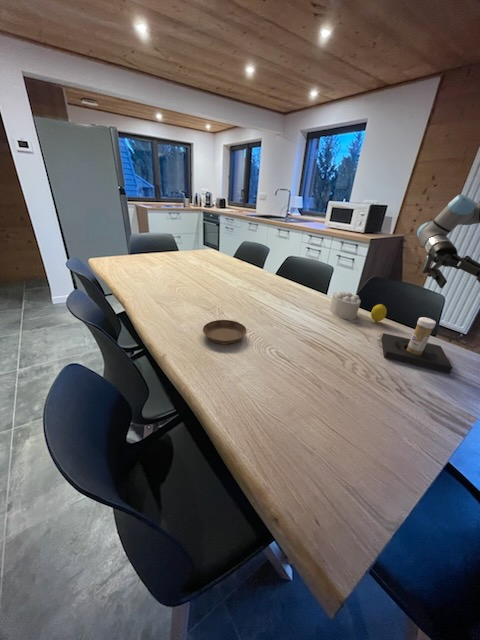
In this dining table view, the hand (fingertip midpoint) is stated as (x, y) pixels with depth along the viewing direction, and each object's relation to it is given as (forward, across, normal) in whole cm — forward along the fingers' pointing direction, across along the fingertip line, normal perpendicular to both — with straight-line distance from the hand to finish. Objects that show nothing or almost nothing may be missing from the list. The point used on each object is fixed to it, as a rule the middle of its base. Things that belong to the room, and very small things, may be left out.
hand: (466, 286), depth 82 cm
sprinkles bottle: (+15, +12, -19) cm, 27 cm away
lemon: (-9, +16, -28) cm, 34 cm away
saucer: (+17, +75, -16) cm, 78 cm away
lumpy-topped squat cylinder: (-14, +28, -30) cm, 43 cm away
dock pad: (+14, +12, -19) cm, 27 cm away
